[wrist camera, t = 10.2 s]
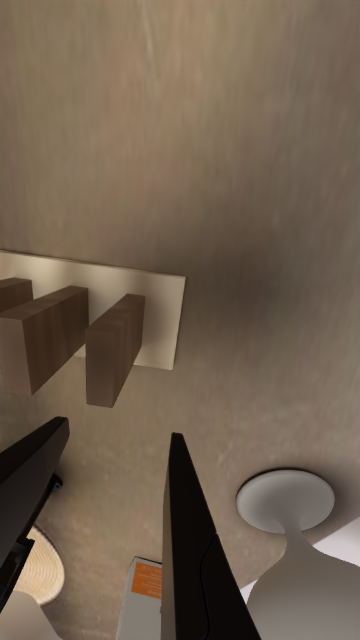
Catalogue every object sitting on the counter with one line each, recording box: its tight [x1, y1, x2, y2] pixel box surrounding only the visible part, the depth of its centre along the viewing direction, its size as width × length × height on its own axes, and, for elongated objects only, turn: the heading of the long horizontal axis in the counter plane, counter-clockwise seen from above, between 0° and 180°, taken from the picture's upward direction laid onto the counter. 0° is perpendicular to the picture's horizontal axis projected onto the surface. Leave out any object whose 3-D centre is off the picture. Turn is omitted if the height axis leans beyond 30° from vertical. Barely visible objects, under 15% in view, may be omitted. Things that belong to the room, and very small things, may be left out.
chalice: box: [236, 470, 360, 640], centre depth 22 cm, size 14×14×15 cm
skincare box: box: [115, 557, 162, 640], centre depth 31 cm, size 6×4×12 cm
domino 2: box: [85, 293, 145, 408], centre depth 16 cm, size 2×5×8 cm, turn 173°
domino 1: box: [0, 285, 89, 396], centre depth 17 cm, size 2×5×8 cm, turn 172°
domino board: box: [0, 250, 186, 370], centre depth 21 cm, size 32×9×1 cm, turn 83°
